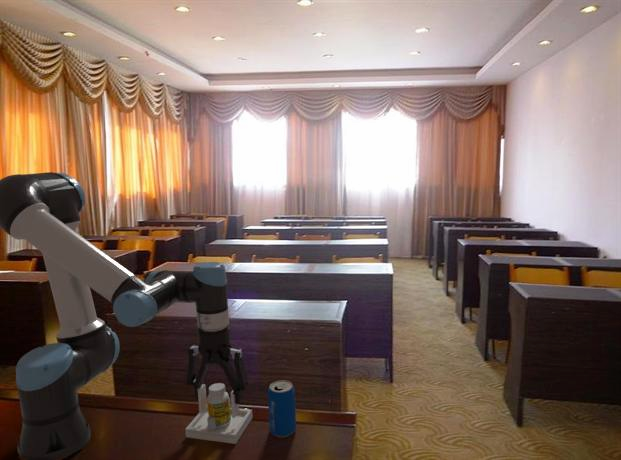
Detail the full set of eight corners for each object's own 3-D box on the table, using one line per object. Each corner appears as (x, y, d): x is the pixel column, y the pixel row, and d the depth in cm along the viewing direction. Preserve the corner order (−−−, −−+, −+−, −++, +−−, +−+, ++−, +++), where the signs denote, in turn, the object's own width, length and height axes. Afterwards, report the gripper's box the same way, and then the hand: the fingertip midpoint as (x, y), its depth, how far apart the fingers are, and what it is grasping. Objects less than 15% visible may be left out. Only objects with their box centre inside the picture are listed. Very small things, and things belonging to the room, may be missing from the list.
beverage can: (264, 432, 111) (262, 386, 109) (283, 420, 116) (281, 376, 114) (282, 442, 107) (280, 395, 105) (301, 430, 112) (300, 385, 110)
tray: (186, 437, 110) (184, 417, 109) (206, 412, 121) (205, 394, 120) (235, 443, 107) (234, 423, 106) (252, 417, 117) (251, 399, 117)
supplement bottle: (226, 414, 117) (223, 379, 116) (234, 423, 113) (231, 387, 111) (206, 421, 114) (202, 386, 113) (213, 431, 110) (210, 394, 108)
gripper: (166, 329, 108) (173, 416, 112) (248, 335, 103) (253, 426, 107) (182, 318, 115) (188, 400, 119) (259, 323, 110) (264, 409, 114)
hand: (219, 412), depth 113 cm, fingers open, 8 cm apart
